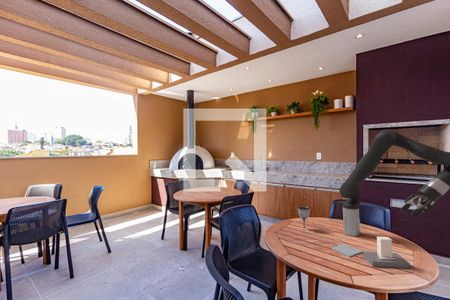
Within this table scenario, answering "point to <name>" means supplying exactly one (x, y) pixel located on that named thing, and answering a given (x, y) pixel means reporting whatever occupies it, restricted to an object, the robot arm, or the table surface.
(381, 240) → the tall cream pillar
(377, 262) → the gray slotted base
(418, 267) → the table surface
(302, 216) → the wine glass
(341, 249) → the mat
